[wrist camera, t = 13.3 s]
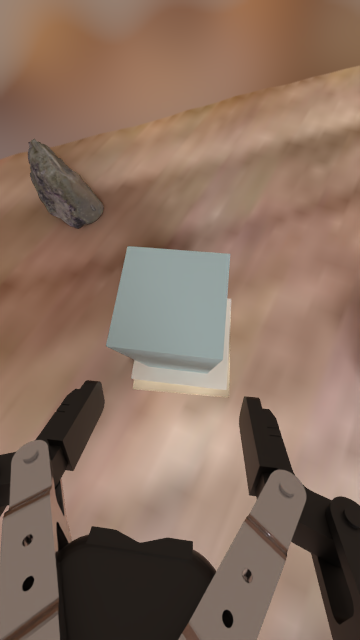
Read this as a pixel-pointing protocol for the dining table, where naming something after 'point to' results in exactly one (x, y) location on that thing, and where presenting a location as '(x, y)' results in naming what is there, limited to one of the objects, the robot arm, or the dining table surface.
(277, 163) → the dining table surface
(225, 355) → the tower top slab
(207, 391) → the tower bottom slab
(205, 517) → the dining table surface
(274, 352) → the dining table surface
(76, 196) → the mineral rock
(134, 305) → the pillar block
